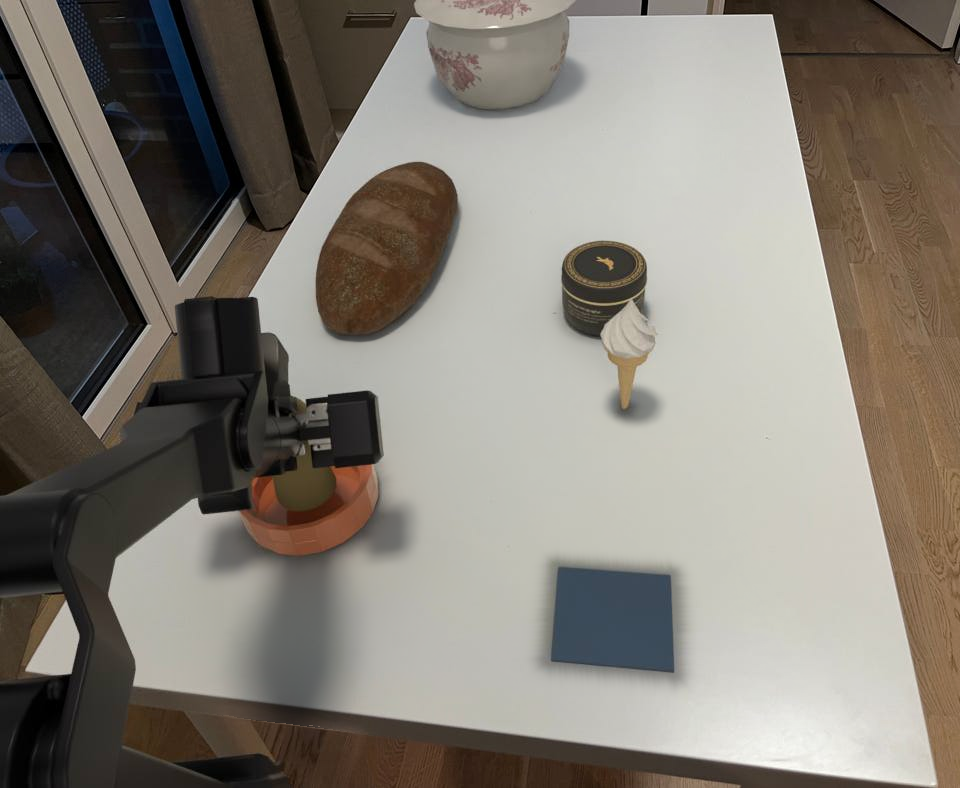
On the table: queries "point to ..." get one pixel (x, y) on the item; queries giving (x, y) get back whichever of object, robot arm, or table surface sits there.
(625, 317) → the ice cream cone
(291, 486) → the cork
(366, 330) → the bread
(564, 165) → the table surface
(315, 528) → the bowl
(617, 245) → the jar
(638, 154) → the table surface
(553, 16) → the chamber pot
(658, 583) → the mat
